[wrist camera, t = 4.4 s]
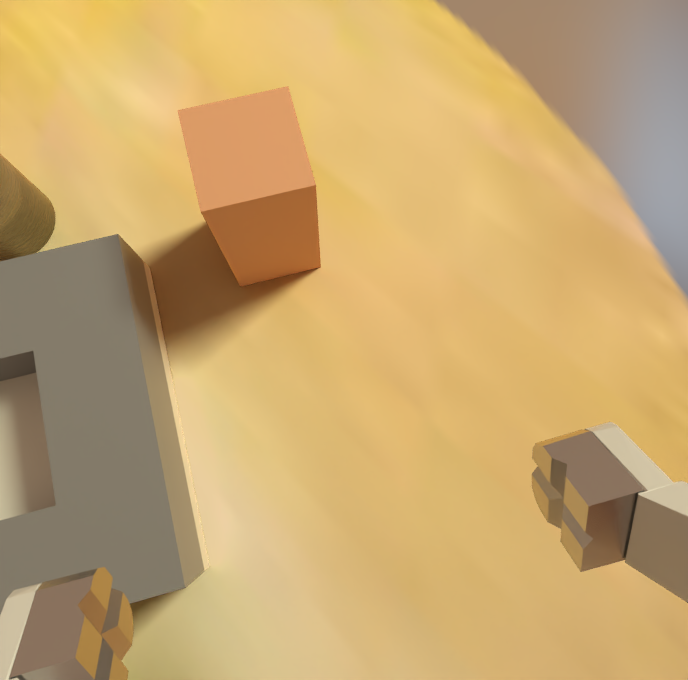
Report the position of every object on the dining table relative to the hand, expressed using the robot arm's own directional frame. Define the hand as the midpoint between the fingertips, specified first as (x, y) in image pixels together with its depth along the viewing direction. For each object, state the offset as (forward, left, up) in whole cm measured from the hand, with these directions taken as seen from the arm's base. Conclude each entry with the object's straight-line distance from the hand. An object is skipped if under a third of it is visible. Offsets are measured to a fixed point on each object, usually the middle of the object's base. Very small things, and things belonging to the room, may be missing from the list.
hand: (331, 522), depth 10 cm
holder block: (+5, +13, -14) cm, 20 cm away
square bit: (+12, 0, -14) cm, 19 cm away
